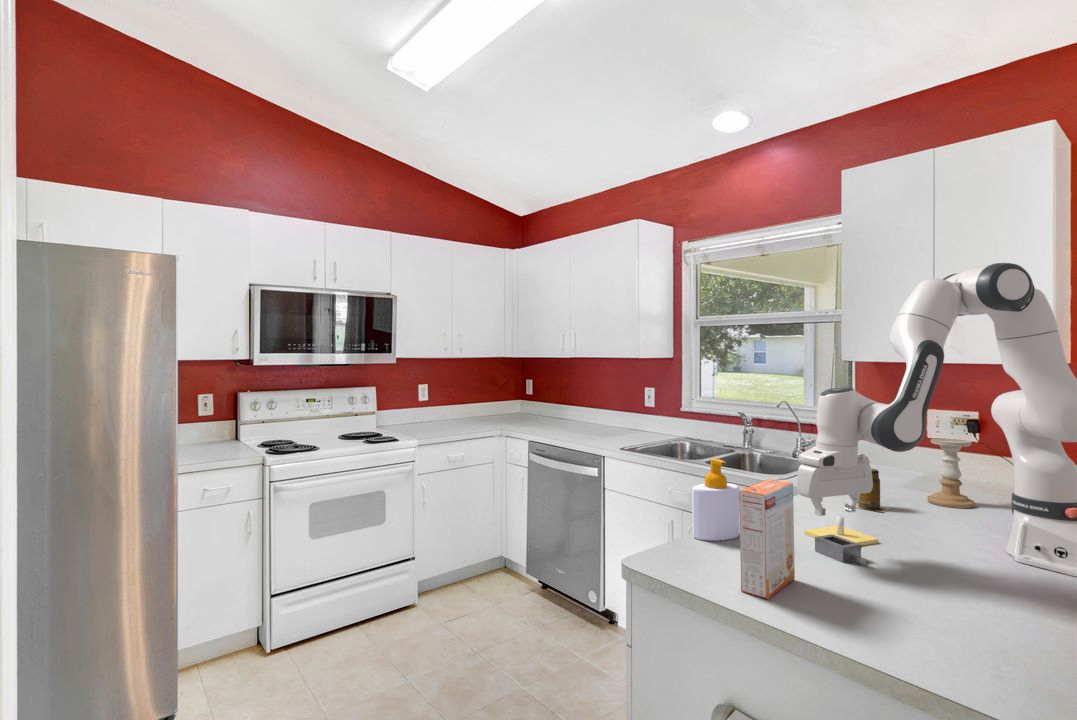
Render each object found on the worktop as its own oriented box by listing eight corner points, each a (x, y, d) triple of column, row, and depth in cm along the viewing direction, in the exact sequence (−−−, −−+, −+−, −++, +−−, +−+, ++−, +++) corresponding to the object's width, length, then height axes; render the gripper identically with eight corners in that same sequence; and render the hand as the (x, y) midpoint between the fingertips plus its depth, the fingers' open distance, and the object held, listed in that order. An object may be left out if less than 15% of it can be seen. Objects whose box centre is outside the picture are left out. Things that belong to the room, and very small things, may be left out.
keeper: (878, 542, 140) (878, 521, 140) (842, 548, 136) (842, 526, 136) (838, 528, 151) (838, 508, 151) (804, 533, 147) (804, 513, 147)
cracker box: (767, 572, 122) (767, 477, 122) (795, 580, 117) (795, 482, 117) (738, 591, 112) (737, 488, 112) (767, 600, 108) (767, 494, 108)
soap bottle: (702, 543, 141) (702, 464, 141) (685, 533, 149) (685, 458, 148) (747, 538, 144) (746, 461, 144) (728, 529, 152) (728, 455, 152)
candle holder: (978, 510, 168) (978, 444, 168) (928, 505, 174) (928, 441, 174) (972, 501, 178) (972, 439, 178) (925, 496, 185) (925, 436, 185)
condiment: (861, 503, 177) (861, 466, 177) (891, 509, 171) (891, 470, 171) (852, 507, 173) (852, 469, 173) (882, 513, 166) (882, 473, 166)
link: (876, 565, 125) (876, 550, 125) (858, 569, 123) (858, 553, 123) (832, 548, 136) (832, 534, 136) (815, 551, 135) (814, 536, 134)
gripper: (857, 451, 138) (856, 506, 138) (792, 455, 131) (792, 513, 131) (880, 455, 132) (879, 513, 132) (814, 460, 125) (813, 521, 125)
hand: (835, 513), depth 132 cm, fingers open, 8 cm apart
